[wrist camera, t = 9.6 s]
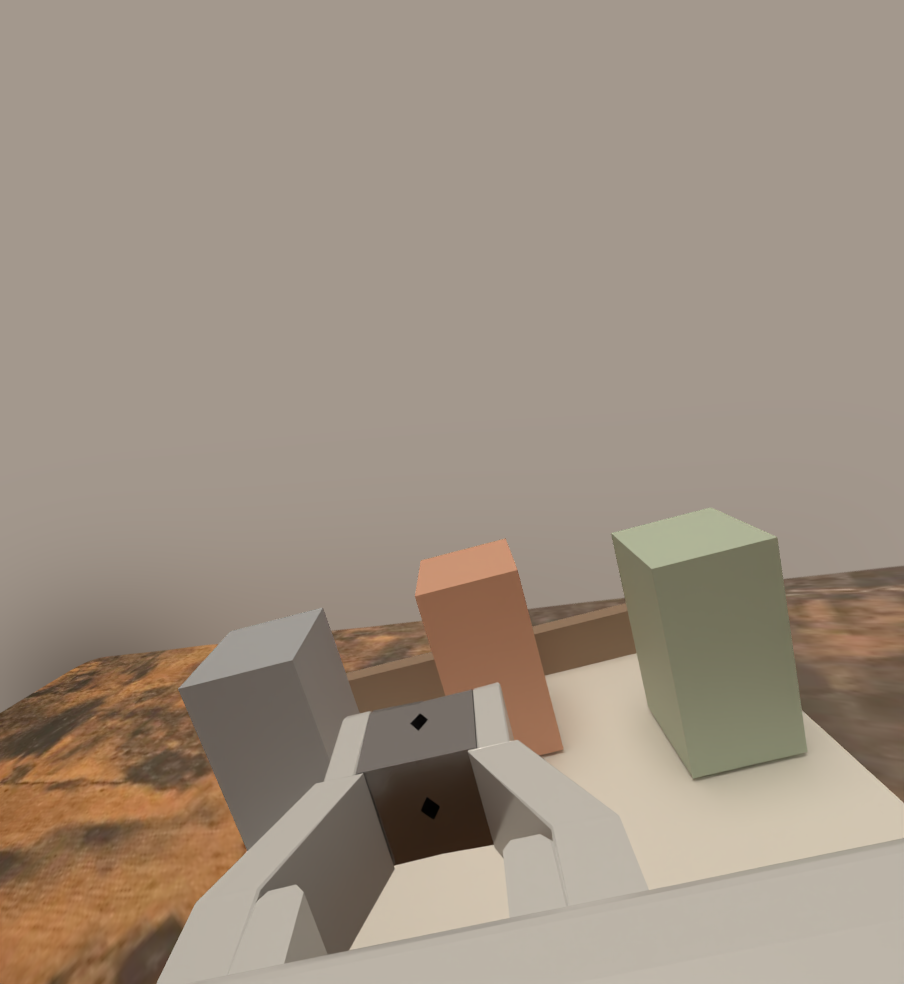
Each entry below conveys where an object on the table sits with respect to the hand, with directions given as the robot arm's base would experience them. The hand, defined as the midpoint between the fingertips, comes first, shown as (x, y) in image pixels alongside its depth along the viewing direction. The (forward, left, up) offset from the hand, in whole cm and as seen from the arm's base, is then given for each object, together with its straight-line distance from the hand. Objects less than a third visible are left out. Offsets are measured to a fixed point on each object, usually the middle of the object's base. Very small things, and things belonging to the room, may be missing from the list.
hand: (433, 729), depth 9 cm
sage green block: (+10, +13, -13) cm, 21 cm away
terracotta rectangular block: (0, +16, -13) cm, 21 cm away
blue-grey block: (-10, +13, -13) cm, 20 cm away
